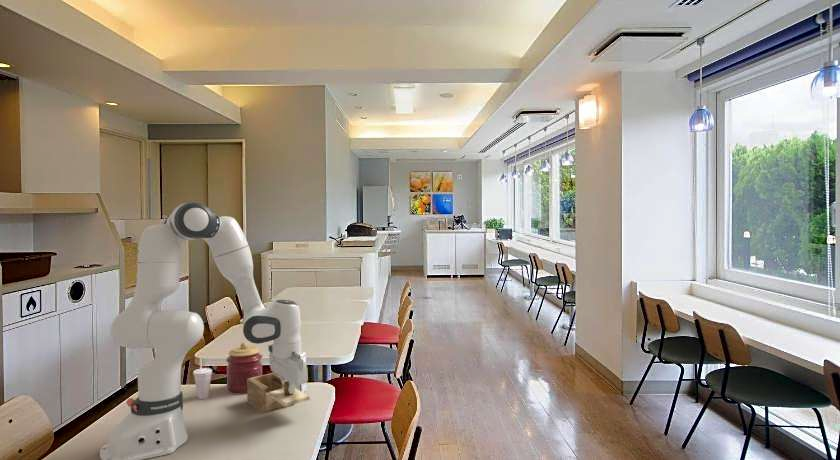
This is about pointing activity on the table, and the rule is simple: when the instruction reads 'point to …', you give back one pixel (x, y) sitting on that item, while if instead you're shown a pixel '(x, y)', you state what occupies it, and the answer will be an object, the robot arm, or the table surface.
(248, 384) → the lid box
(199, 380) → the smoothie
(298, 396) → the lid
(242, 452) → the table surface
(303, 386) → the syrup box
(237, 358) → the canister
